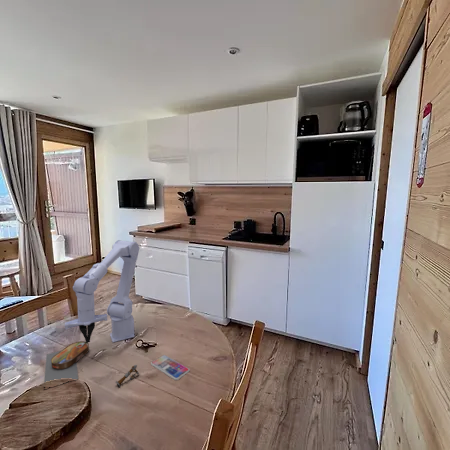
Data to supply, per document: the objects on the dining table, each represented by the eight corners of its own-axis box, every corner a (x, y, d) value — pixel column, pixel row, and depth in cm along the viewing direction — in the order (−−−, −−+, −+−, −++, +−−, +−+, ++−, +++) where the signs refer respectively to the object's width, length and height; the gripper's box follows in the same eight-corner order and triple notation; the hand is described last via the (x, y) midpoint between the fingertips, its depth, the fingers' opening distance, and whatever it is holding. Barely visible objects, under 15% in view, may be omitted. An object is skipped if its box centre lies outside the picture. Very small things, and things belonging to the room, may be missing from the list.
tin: (64, 365, 94) (45, 360, 95) (64, 373, 94) (45, 368, 96) (93, 342, 109) (76, 338, 110) (93, 349, 109) (75, 345, 110)
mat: (75, 347, 110) (75, 347, 109) (78, 379, 91) (78, 378, 91) (46, 355, 104) (46, 354, 104) (43, 390, 86) (43, 389, 86)
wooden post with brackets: (142, 372, 94) (137, 364, 92) (123, 392, 89) (117, 383, 87) (139, 370, 95) (134, 362, 93) (120, 389, 90) (115, 381, 88)
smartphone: (164, 353, 106) (191, 369, 97) (164, 356, 106) (191, 371, 97) (149, 362, 100) (176, 379, 91) (149, 365, 100) (176, 382, 91)
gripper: (64, 316, 93) (66, 352, 94) (108, 308, 100) (109, 341, 102) (64, 309, 99) (65, 342, 100) (105, 301, 106) (106, 332, 108)
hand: (87, 341), depth 102 cm, fingers closed
